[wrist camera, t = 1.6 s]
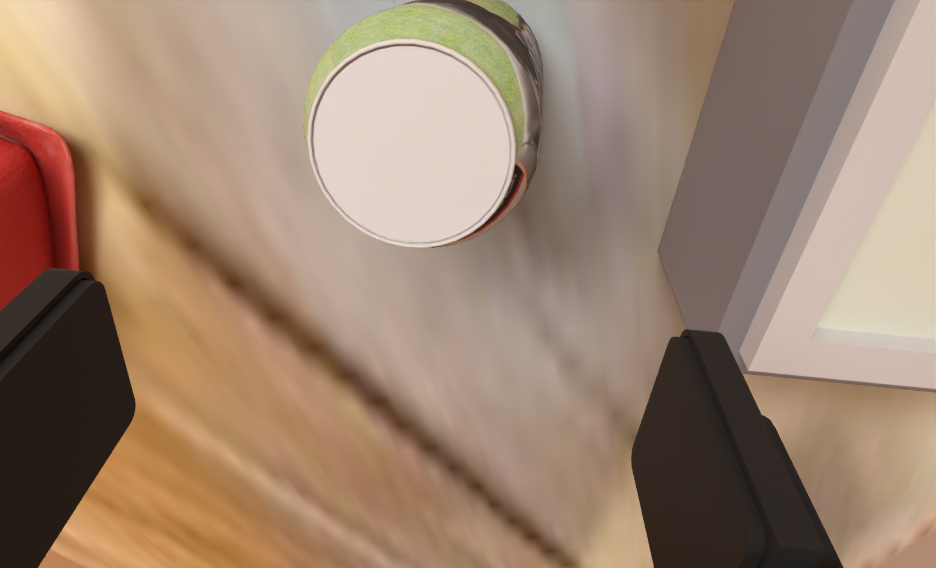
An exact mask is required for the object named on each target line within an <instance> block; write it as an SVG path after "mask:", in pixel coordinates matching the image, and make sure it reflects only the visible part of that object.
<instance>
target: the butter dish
mask: <svg viewBox="0 0 936 568" xmlns="http://www.w3.org/2000/svg"><path fill="white" fill-rule="evenodd" d="M50 268H57V269H67V270H78V271H80V270H79V251H78V239H77V219H76V194H75V171H74V166H73V161H72V155H71V152H70V149H69V147H68V145H67V143H66V141H65V140H64V138H63V137H62V136H61V135H60V134H59V133H57V132H56V131H54V130H52V129H51V128H49V127H46V126H43V125H41V124H39V123H36V122H33V121H29V120H26V119H24V118H22V117H18V116H14V115H12V114H9V113H5V112H2V111H0V311H1V310H2V309H3V308H4V307H5V306H6V305H7V304H8V303H9V302H11V301H12V300H13V299H14V298H15V297H16V296H17V295H18V294H19V293H20V292H21V291H22V290H24V289H25V288H26V287H27V286H28V285H29V284H30V283H31V282H32V281H33V280H34V279H35V278H37V277H38V276H39V275H40V274H41V273H42V272H43V271H45V270H46V269H50Z"/></svg>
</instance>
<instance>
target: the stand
mask: <svg viewBox="0 0 936 568" xmlns="http://www.w3.org/2000/svg"><path fill="white" fill-rule="evenodd" d="M658 253H659V255H660V258H661V261H662V263H663V266H664V269H665V271H666V274H667V277H668V279H669V282H670V285H671V287H672V290H673V293H674V295H675V298H676V301H677V303H678V306H679V309H680V311H681V314H682V317H683V319H684V322H685V325H686V327H687V329H690V330H701V331H711V332H719V333H722V334H723V336H724V337H725V339H726V341H727V343H728V345H729V347H730V349H731V352H732V354H733V356H734V358H735V360H736V362H737V364H738V366H739V368H740V371H741V373H744V374H754V375H764V376H775V377H785V378H795V379H805V380H816V381H826V382H836V383H846V384H856V385H867V386H877V387H887V388H897V389H908V390H918V391H928V392H936V0H736V1H735V4H734V7H733V11H732V14H731V17H730V20H729V24H728V27H727V30H726V33H725V36H724V40H723V43H722V46H721V49H720V53H719V56H718V59H717V62H716V65H715V69H714V72H713V75H712V78H711V82H710V85H709V88H708V91H707V94H706V98H705V101H704V104H703V107H702V111H701V114H700V117H699V120H698V123H697V127H696V130H695V133H694V136H693V140H692V143H691V146H690V149H689V152H688V156H687V159H686V162H685V165H684V169H683V172H682V175H681V178H680V181H679V185H678V188H677V191H676V194H675V198H674V201H673V204H672V207H671V210H670V214H669V217H668V220H667V223H666V227H665V230H664V233H663V236H662V239H661V243H660V246H659V249H658Z"/></svg>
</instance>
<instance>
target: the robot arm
mask: <svg viewBox="0 0 936 568" xmlns="http://www.w3.org/2000/svg"><path fill="white" fill-rule="evenodd" d="M134 413H135V398H134V394H133V391H132V387H131V383H130V379H129V376H128V372H127V368H126V365H125V361H124V357H123V353H122V350H121V346H120V342H119V339H118V335H117V331H116V328H115V324H114V320H113V316H112V313H111V309H110V305H109V302H108V298H107V294H106V290H105V288H104V285H103V284H102V283H101V282H98V281H95V279H94V277H93V276H92V274H91V273H89V272H86V271H78V270H67V269H57V268H50V269H46V270H45V271H43V272H42V273H41V274H40V275H39V276H38V277H37V278H35V279H34V280H33V281H32V282H31V283H30V284H29V285H28V286H27V287H26V288H25V289H24V290H22V291H21V292H20V293H19V294H18V295H17V296H16V297H15V298H14V299H13V300H12V301H11V302H9V303H8V304H7V305H6V306H5V307H4V308H3V309H2V310H1V311H0V568H38V567H39V565H40V563H41V562H42V560H43V558H44V557H45V556H46V554H47V552H48V551H49V549H50V548H51V546H52V545H53V543H54V542H55V540H56V538H57V537H58V535H59V534H60V532H61V531H62V529H63V528H64V526H65V524H66V523H67V521H68V520H69V518H70V517H71V515H72V514H73V512H74V510H75V509H76V507H77V506H78V504H79V503H80V501H81V499H82V498H83V496H84V495H85V493H86V492H87V490H88V489H89V487H90V485H91V484H92V482H93V481H94V479H95V478H96V476H97V475H98V473H99V471H100V470H101V468H102V467H103V465H104V464H105V462H106V461H107V459H108V457H109V456H110V454H111V453H112V451H113V450H114V448H115V446H116V445H117V443H118V442H119V440H120V439H121V437H122V436H123V434H124V432H125V431H126V429H127V428H128V426H129V425H130V423H131V421H132V419H133V416H134ZM631 462H632V470H633V474H634V479H635V483H636V488H637V492H638V497H639V501H640V506H641V510H642V515H643V520H644V524H645V529H646V533H647V538H648V542H649V547H650V551H651V556H652V560H653V565H654V568H843V566H842V564H841V562H840V560H839V558H838V556H837V553H836V551H835V549H834V547H833V545H832V543H831V541H830V539H829V537H828V535H827V533H826V531H825V529H824V527H823V525H822V523H821V521H820V519H819V517H818V514H817V512H816V510H815V508H814V506H813V504H812V502H811V500H810V498H809V496H808V494H807V492H806V490H805V488H804V486H803V484H802V482H801V480H800V478H799V475H798V473H797V471H796V469H795V467H794V465H793V463H792V461H791V459H790V457H789V455H788V453H787V451H786V449H785V447H784V445H783V443H782V441H781V439H780V436H779V434H778V432H777V430H776V428H775V427H774V425H773V424H772V422H771V421H770V419H768V418H767V417H765V416H762V415H761V413H760V411H759V409H758V406H757V404H756V402H755V400H754V398H753V396H752V394H751V392H750V390H749V387H748V385H747V383H746V381H745V379H744V377H743V375H742V373H741V371H740V368H739V366H738V364H737V362H736V360H735V358H734V356H733V354H732V352H731V349H730V347H729V345H728V343H727V341H726V339H725V337H724V336H723V334H722V333H719V332H711V331H701V330H690V329H686V330H684V331H683V332H682V334H681V336H680V337H672V338H671V339H670V341H669V343H668V346H667V348H666V351H665V354H664V357H663V360H662V363H661V366H660V369H659V372H658V375H657V378H656V381H655V383H654V386H653V389H652V392H651V395H650V398H649V401H648V404H647V407H646V410H645V413H644V415H643V418H642V421H641V424H640V427H639V430H638V433H637V436H636V439H635V442H634V445H633V448H632V457H631Z"/></svg>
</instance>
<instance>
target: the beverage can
mask: <svg viewBox="0 0 936 568" xmlns="http://www.w3.org/2000/svg"><path fill="white" fill-rule="evenodd" d="M542 79H543V69H542V61H541V54H540V51H539V48H538V44H537V41H536V39H535V37H534V35H533V33H532V31H531V29H530V28H529V26H528V25H527V23H526V22H525V21H524V19H523V18H522V17H521V16H520V15H519V14H518V13H517V12H516V11H515V10H514V9H513V8H512V7H511V6H510V5H508V4H506V3H505V2H503V1H502V0H415V1H411V2H408V3H405V4H402V5H399V6H396V7H393V8H390V9H387V10H384V11H381V12H379V13H377V14H374V15H372V16H369V17H367V18H364V19H362V20H361V21H359V22H358V23H356V24H355V25H353V26H352V27H350V28H349V29H347V30H346V31H345V32H344V33H343V34H342V35H341V36H340V37H339V38H338V39H337V40H336V41H335V42H334V43H333V44H332V45H331V46H330V47H329V48H328V50H327V51H326V53H325V54H324V56H323V57H322V58H321V60H320V61H319V63H318V65H317V67H316V69H315V71H314V74H313V76H312V78H311V81H310V83H309V87H308V91H307V95H306V100H305V104H304V123H303V127H304V135H305V143H306V148H307V152H308V155H309V159H310V162H311V165H312V168H313V171H314V175H315V177H316V179H317V181H318V183H319V185H320V187H321V190H322V192H323V193H324V194H325V196H326V197H327V199H328V200H329V202H330V203H331V205H332V206H333V207H334V208H335V209H336V210H337V211H338V212H339V214H340V215H341V216H342V217H343V218H344V219H345V220H347V221H348V222H349V223H350V224H352V225H353V226H354V227H356V228H357V229H358V230H360V231H362V232H363V233H365V234H367V235H369V236H371V237H372V238H375V239H377V240H380V241H383V242H385V243H388V244H392V245H397V246H402V247H409V248H428V247H432V248H433V247H441V246H449V245H454V244H457V243H461V242H464V241H467V240H470V239H472V238H474V237H476V236H478V235H480V234H482V233H484V232H486V231H488V230H489V229H491V228H492V227H493V226H495V225H496V224H497V223H499V222H500V221H502V220H503V219H504V218H505V217H506V216H507V215H508V214H509V213H510V211H511V210H512V209H513V208H514V207H515V206H516V205H517V204H518V202H519V201H520V199H521V198H522V196H523V195H524V193H525V191H526V190H527V188H528V186H529V184H530V181H531V179H532V177H533V174H534V172H535V170H536V166H537V161H538V157H539V153H540V146H541V121H542Z"/></svg>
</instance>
